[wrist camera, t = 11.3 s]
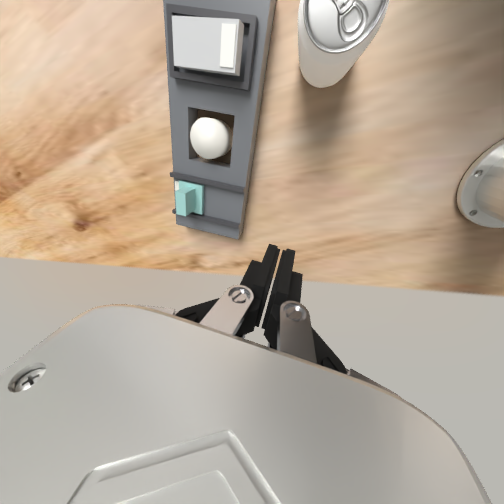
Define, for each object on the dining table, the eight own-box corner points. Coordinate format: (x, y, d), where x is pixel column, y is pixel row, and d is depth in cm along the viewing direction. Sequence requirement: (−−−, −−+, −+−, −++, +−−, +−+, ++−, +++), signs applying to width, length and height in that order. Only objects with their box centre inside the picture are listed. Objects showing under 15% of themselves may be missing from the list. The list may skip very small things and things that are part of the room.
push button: (234, 122, 29) (225, 121, 26) (231, 159, 32) (223, 162, 29) (202, 116, 30) (189, 114, 26) (201, 152, 32) (190, 155, 29)
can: (314, 101, 26) (323, 83, 16) (288, 49, 24) (279, -10, 14) (366, 58, 23) (416, 3, 13) (341, -6, 21) (377, -128, 11)
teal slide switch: (204, 184, 32) (192, 191, 28) (203, 212, 34) (193, 221, 31) (181, 179, 32) (167, 185, 29) (182, 207, 35) (169, 215, 31)
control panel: (276, -5, 22) (272, -31, 19) (242, 232, 38) (236, 242, 35) (176, -18, 23) (154, -44, 20) (184, 218, 39) (172, 226, 36)
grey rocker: (244, 24, 20) (238, 18, 19) (239, 76, 22) (234, 73, 21) (179, 20, 22) (170, 14, 21) (180, 68, 24) (173, 65, 23)
